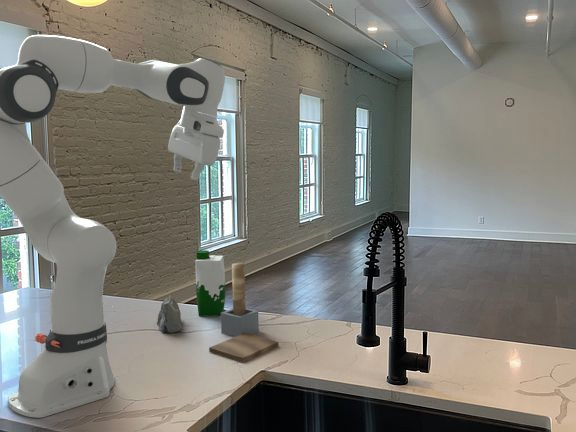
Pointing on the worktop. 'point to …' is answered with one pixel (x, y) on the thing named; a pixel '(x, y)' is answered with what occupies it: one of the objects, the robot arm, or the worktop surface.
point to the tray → (243, 347)
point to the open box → (239, 323)
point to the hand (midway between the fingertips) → (185, 175)
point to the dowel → (238, 289)
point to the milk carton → (210, 284)
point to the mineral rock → (169, 316)
